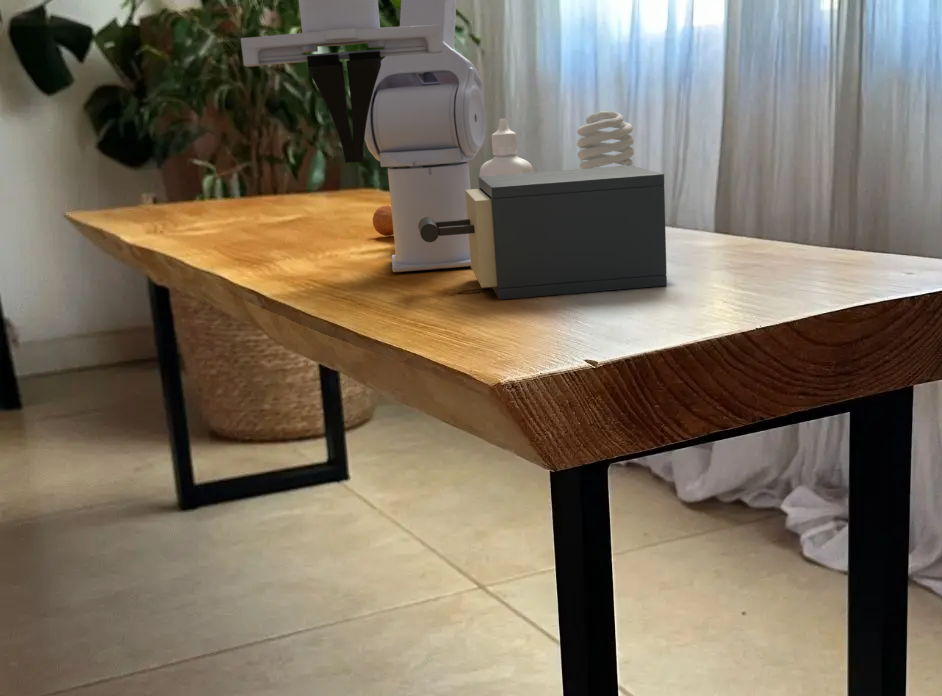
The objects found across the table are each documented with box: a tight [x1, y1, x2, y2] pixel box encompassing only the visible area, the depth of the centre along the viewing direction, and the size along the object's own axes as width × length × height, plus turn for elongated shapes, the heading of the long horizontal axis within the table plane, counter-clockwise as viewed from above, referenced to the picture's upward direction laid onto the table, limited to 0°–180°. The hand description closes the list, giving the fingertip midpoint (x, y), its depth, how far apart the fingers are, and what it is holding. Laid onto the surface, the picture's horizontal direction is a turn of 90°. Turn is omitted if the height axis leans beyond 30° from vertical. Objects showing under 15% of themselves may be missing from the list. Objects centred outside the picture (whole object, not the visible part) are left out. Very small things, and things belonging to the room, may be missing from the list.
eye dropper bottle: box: [479, 118, 534, 177], centre depth 122 cm, size 4×6×12 cm
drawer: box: [418, 188, 498, 289], centre depth 96 cm, size 16×11×6 cm
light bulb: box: [576, 110, 635, 169], centre depth 122 cm, size 6×6×12 cm
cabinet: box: [478, 165, 668, 301], centre depth 96 cm, size 13×13×8 cm
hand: (354, 161), depth 93 cm, fingers closed
